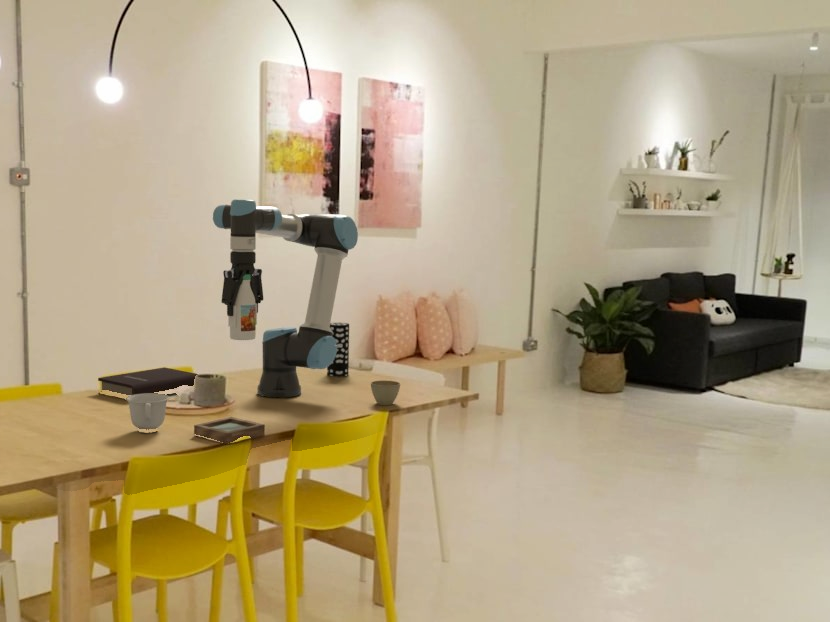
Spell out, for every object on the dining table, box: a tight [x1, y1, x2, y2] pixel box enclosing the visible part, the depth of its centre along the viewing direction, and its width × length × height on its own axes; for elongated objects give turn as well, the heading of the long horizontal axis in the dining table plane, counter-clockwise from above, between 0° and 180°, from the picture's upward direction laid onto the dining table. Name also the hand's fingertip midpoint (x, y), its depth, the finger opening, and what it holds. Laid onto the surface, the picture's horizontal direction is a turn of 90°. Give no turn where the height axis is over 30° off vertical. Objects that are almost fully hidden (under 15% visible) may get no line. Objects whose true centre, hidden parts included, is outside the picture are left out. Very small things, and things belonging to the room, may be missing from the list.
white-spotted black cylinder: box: [326, 322, 350, 378], centre depth 364 cm, size 8×8×20 cm
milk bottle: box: [229, 274, 257, 341], centre depth 285 cm, size 8×8×20 cm
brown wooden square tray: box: [193, 416, 266, 445], centre depth 268 cm, size 14×14×3 cm
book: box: [97, 367, 199, 395], centre depth 325 cm, size 28×20×6 cm
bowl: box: [370, 379, 401, 406], centre depth 315 cm, size 10×10×7 cm
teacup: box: [125, 393, 170, 430], centre depth 269 cm, size 12×15×10 cm
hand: (242, 325), depth 286 cm, fingers closed on milk bottle, 8 cm apart
